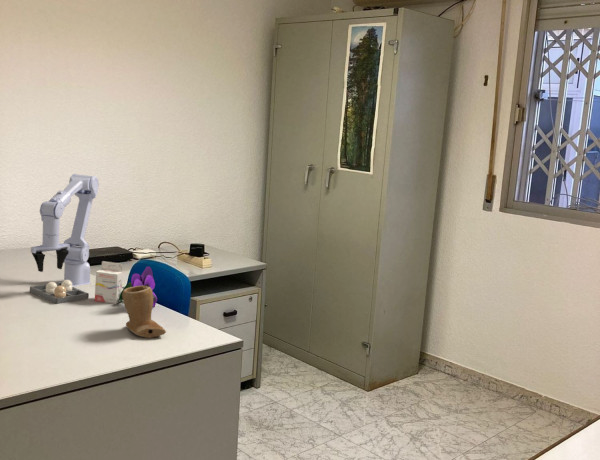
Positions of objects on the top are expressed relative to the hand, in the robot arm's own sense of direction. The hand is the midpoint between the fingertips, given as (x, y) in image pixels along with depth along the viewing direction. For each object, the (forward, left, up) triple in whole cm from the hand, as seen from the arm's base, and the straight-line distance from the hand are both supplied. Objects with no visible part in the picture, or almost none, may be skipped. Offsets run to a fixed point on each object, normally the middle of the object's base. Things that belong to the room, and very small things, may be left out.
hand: (50, 269), depth 242 cm
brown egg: (+1, +9, -9) cm, 13 cm away
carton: (-2, +3, -10) cm, 10 cm away
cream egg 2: (-5, +3, -9) cm, 11 cm away
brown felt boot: (-2, +53, -10) cm, 54 cm away
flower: (-18, +28, -10) cm, 35 cm away
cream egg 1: (+1, +3, -9) cm, 10 cm away
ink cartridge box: (-13, +19, -10) cm, 25 cm away
